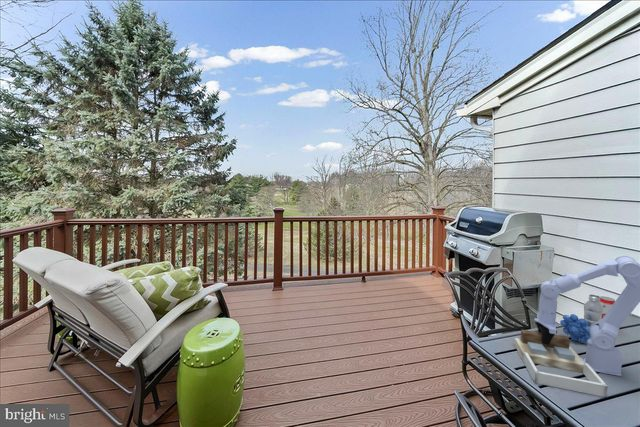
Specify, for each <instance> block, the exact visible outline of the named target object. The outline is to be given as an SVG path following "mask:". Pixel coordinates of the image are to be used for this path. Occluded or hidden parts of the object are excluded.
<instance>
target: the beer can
mask: <svg viewBox="0 0 640 427" xmlns="http://www.w3.org/2000/svg"><path fill="white" fill-rule="evenodd" d="M599 297H600V302H599V303H600V304H601V305H602V307H603V312H602V315H601V319H603V317H604V316H605V315H606V313H607V312H608V311H609V309H610V308H611V306H612V305H613V304H614V302H615V301H616V299H614V298H612V297H609V296H599Z"/></svg>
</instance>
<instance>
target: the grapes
mask: <svg viewBox="0 0 640 427" xmlns="http://www.w3.org/2000/svg"><path fill="white" fill-rule="evenodd" d="M559 324H560V325H561V327H563V328H562V332H563V333H564V334H565V335H567V336H569V338H570V339H571V340H572V341H574V342H578V341H579V342H580V343H582V344H587V342H588V339H590V338H591V335H590V333H589V326H587V322H586V320H584V318H579V316H578V315H576V314H575V313H573V314H571V313H570V315H567V314H563V315H562V319H561V320H560V321H559Z"/></svg>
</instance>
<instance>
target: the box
mask: <svg viewBox="0 0 640 427" xmlns="http://www.w3.org/2000/svg"><path fill="white" fill-rule="evenodd" d="M522 361H523V364H524V366H525V367H526V369H527V372H528V373H529V375H530V376H531V378H532V379H531V380H533V383H534V384H538V385H544V386H548V387H553V388H558V389H564V390H568V391H572V392H573V391H574V392H579V393H582V394H589V395H593V396H596V397H597V396H598V397H604V398H607V396H608V395H607V394H608V385H607V384H606V382H605V381H604V380H603V379H602V378H601V377H600V376H599V374H598V373H597V372H596V371H594V370H593V369H592V368H591V367H590V366H589V364H588V363H584V367H583V372H582V374H584V376H585V377H586V378H587V380H586V379H580V378H574V377H571V376H570V377H569V376H564V375H561V374H560V375H559V374H555V373H549V372H544V371H539V370H538V369H537V367H536V364H534V363H533V362H532V360H531V358H530V356H529V355H528V353H526V352H524V360H522Z"/></svg>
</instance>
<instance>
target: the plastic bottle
mask: <svg viewBox="0 0 640 427" xmlns="http://www.w3.org/2000/svg"><path fill="white" fill-rule="evenodd" d="M600 297H601V296H600V295H595V294H589V296H588V301H586V302H585V303H584V305H583V313H584V314H583V319H584V320H586V322H587V326H589V327H590V326H591V325H593V324H596V323H597V322H598V321H599V320H600V319H601V315H602V312H603V307H602V305H601V304H600V303H599V302H600Z"/></svg>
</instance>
